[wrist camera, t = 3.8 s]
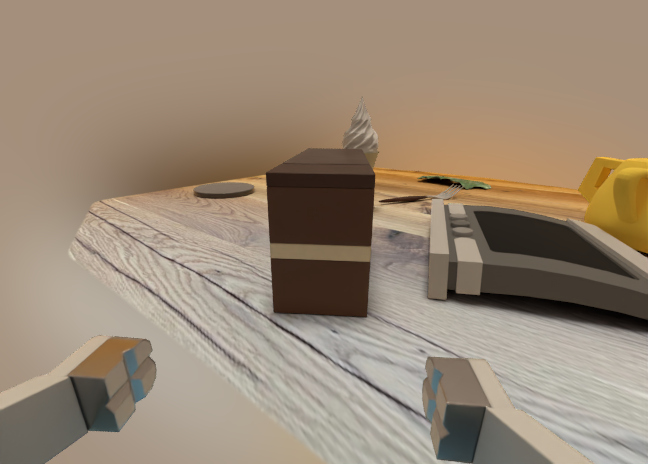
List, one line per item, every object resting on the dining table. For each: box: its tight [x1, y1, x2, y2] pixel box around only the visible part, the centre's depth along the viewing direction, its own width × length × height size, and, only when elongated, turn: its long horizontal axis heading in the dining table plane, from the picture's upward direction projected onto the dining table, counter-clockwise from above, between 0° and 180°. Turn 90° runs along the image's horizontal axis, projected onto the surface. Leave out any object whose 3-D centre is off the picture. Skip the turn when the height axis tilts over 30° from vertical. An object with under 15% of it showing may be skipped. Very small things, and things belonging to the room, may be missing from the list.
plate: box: [193, 183, 254, 198], centre depth 55 cm, size 10×10×1 cm
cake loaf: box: [283, 148, 370, 165], centre depth 29 cm, size 14×6×9 cm, turn 176°
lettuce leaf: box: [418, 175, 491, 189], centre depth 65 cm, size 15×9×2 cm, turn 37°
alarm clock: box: [428, 199, 648, 320], centre depth 26 cm, size 17×5×16 cm
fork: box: [379, 184, 464, 202], centre depth 50 cm, size 3×16×2 cm, turn 114°
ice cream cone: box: [342, 97, 379, 169], centre depth 42 cm, size 5×5×15 cm
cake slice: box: [266, 164, 375, 317], centre depth 20 cm, size 4×6×9 cm, turn 85°
